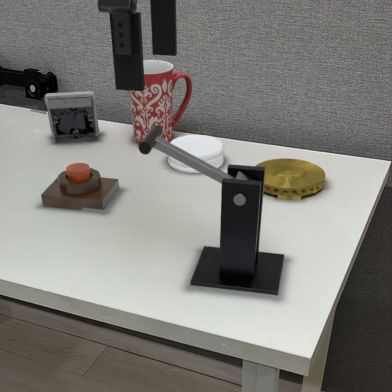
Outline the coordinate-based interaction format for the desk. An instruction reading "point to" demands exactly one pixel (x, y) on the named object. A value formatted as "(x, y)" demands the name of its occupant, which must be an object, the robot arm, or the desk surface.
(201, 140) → the coaster
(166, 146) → the switch lever
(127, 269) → the desk surface
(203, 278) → the stand
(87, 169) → the button
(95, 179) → the button block
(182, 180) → the desk surface
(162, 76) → the mug
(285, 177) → the compass
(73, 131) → the electrical switch
